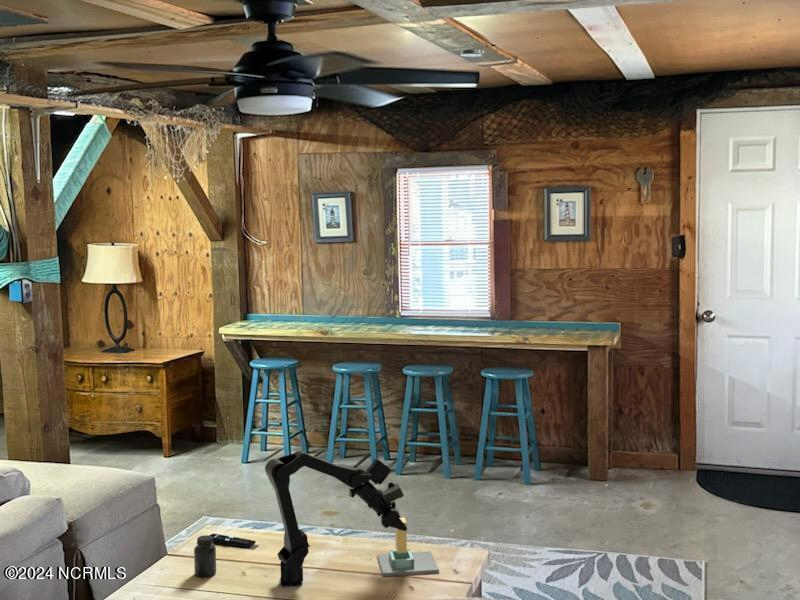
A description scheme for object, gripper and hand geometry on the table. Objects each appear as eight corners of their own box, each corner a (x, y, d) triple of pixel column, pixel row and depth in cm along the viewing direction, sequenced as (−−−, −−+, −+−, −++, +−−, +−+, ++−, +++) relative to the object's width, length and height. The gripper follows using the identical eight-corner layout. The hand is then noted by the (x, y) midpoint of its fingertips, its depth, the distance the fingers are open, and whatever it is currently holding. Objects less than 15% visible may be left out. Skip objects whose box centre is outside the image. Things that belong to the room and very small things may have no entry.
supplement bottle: (190, 576, 285) (189, 540, 284) (202, 568, 291) (201, 532, 290) (209, 579, 282) (208, 542, 281) (220, 571, 289) (219, 535, 288)
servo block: (397, 553, 289) (397, 522, 288) (395, 547, 294) (395, 517, 293) (406, 552, 290) (406, 522, 289) (404, 546, 295) (404, 517, 294)
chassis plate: (383, 576, 284) (382, 565, 283) (377, 557, 299) (377, 547, 299) (438, 572, 286) (438, 562, 286) (430, 554, 302) (430, 544, 302)
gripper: (392, 486, 280) (427, 518, 282) (385, 469, 298) (417, 500, 301) (367, 512, 280) (402, 544, 282) (361, 493, 298) (394, 524, 301)
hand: (405, 527), depth 291 cm, fingers closed on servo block, 5 cm apart
